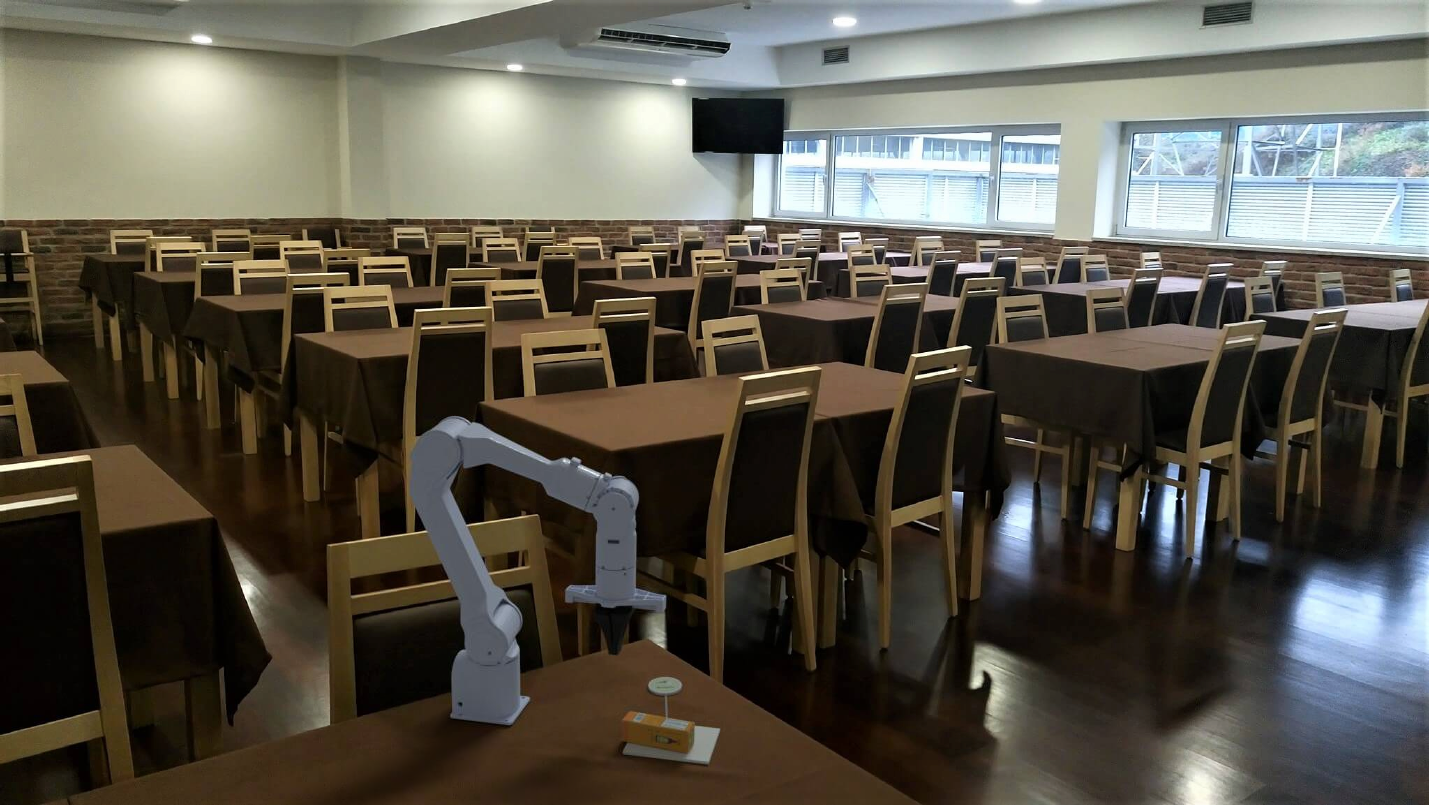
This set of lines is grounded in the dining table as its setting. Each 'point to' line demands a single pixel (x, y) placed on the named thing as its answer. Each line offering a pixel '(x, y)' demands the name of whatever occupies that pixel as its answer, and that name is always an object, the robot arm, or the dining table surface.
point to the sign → (665, 688)
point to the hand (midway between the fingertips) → (614, 652)
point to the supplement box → (658, 731)
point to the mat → (697, 753)
